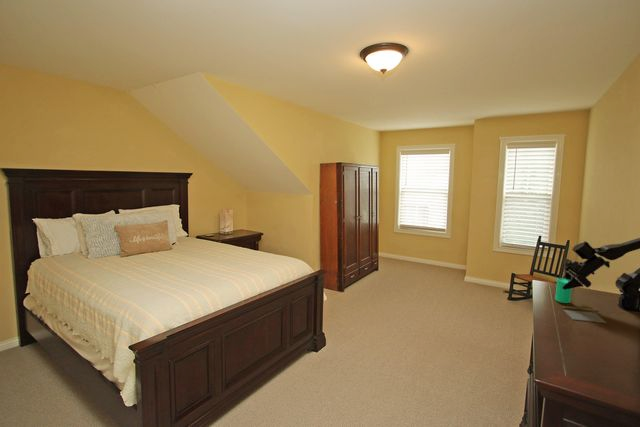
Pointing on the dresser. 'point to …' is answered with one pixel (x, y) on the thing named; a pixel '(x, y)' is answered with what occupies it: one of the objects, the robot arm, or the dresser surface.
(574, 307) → the line strip
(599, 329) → the dresser surface
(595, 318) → the mat
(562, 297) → the candle
